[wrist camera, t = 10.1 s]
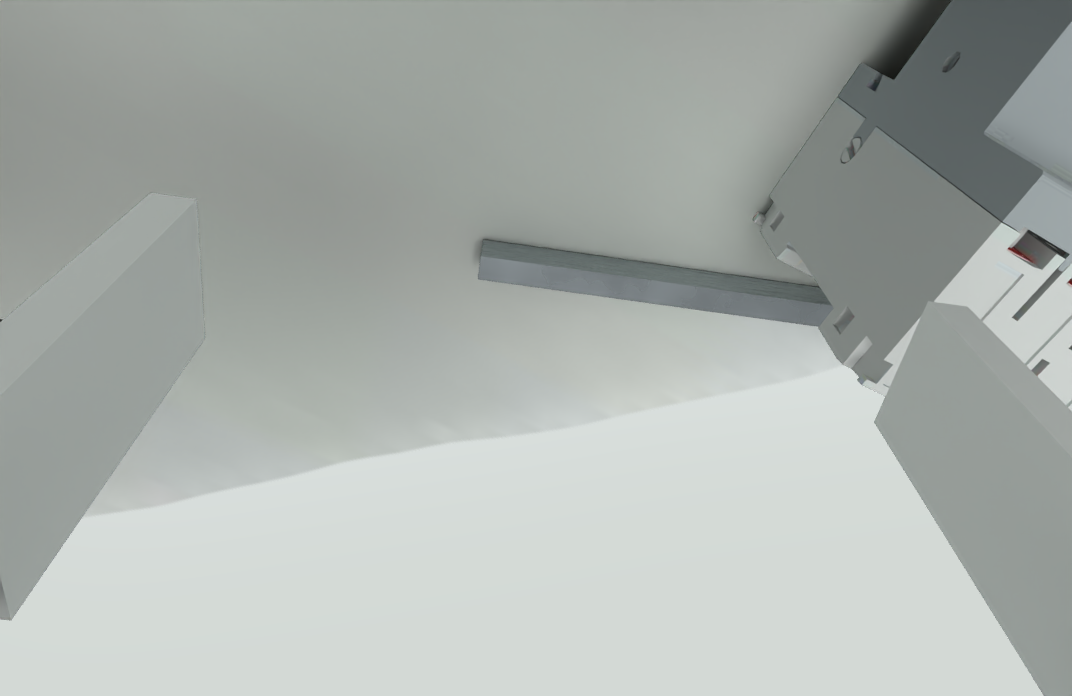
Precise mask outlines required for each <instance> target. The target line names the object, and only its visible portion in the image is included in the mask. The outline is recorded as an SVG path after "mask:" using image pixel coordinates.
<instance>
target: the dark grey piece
mask: <svg viewBox="0 0 1072 696" xmlns="http://www.w3.org/2000/svg"><path fill="white" fill-rule="evenodd" d="M478 279H480V280H487V281H494V282H501V283H509V284H516V285H523V286H530V287H537V288H544V289H552V290H559V291H566V292H573V293H580V294H588V295H595V296H602V297H609V298H616V299H624V300H631V301H638V302H645V303H652V304H660V305H667V306H674V307H681V308H688V309H695V310H703V311H710V312H717V313H724V314H731V315H739V316H746V317H753V318H760V319H767V320H775V321H782V322H789V323H796V324H803V325H811V326H818V327H819V326H820V325H821V324H822V322H823V321H824V320H825V319H826V317H827V316H828V315H829V313H830V312H831V311H832V310H833V308H834V307H833V306H832V304H831V303H830V301H829V300H828V298H827V297H826V295H825V294H824V292H823V291H822V289H821V288H820V287H814V286H807V285H800V284H793V283H786V282H779V281H772V280H765V279H758V278H751V277H744V276H737V275H730V274H722V273H715V272H708V271H701V270H694V269H687V268H680V267H673V266H666V265H659V264H652V263H645V262H638V261H631V260H624V259H617V258H610V257H603V256H596V255H589V254H582V253H575V252H568V251H561V250H554V249H547V248H540V247H533V246H526V245H519V244H512V243H505V242H498V241H491V240H484V239H483V245H482V252H481V258H480V266H479V274H478Z"/></svg>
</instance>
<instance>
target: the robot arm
mask: <svg viewBox="0 0 1072 696" xmlns="http://www.w3.org/2000/svg"><path fill="white" fill-rule="evenodd" d="M204 339H205V324H204V308H203V291H202V274H201V257H200V241H199V224H198V207H197V199H193V198H186V197H179V196H172V195H165V194H157V193H150V194H149V195H147V196H146V197H145V198H144V199H143V200H142V201H140V202H139V203H138V204H137V205H136V206H135V207H133V208H132V209H131V210H130V211H129V212H128V213H126V214H125V215H124V216H123V217H122V218H121V219H119V220H118V221H117V222H116V223H115V224H114V225H113V226H111V227H110V228H109V229H108V230H107V231H106V232H104V233H103V234H102V235H101V236H100V237H99V238H97V239H96V240H95V241H94V242H93V243H92V244H90V245H89V246H88V247H87V248H86V249H85V250H83V251H82V252H81V253H80V254H79V255H78V256H77V257H75V258H74V259H73V260H72V261H71V262H70V263H68V264H67V265H66V266H65V267H64V268H63V269H61V270H60V271H59V272H58V273H57V274H56V275H54V276H53V277H52V278H51V279H50V280H49V281H47V282H46V283H45V284H44V285H43V286H42V287H41V288H39V289H38V290H37V291H36V292H35V293H34V294H32V295H31V296H30V297H29V298H28V299H27V300H25V301H24V302H23V303H22V304H21V305H20V306H18V307H17V308H16V309H15V310H14V311H13V312H11V313H10V314H9V315H8V316H7V317H6V318H4V319H3V320H0V619H2V620H12V618H13V617H14V615H15V614H16V613H17V611H18V610H19V608H20V607H21V605H22V604H23V603H24V601H25V600H26V598H27V596H28V595H29V594H30V592H31V591H32V589H33V588H34V587H35V585H36V584H37V582H38V581H39V579H40V578H41V576H42V575H43V573H44V572H45V571H46V569H47V567H48V566H49V565H50V563H51V562H52V560H53V559H54V557H55V556H56V555H57V553H58V552H59V550H60V549H61V547H62V546H63V544H64V543H65V541H66V540H67V538H68V537H69V536H70V534H71V533H72V531H73V530H74V528H75V527H76V525H77V524H78V522H79V521H80V520H81V518H82V517H83V515H84V514H85V512H86V511H87V509H88V508H89V506H90V505H91V504H92V502H93V501H94V499H95V498H96V496H97V495H98V493H99V492H100V490H101V489H102V488H103V486H104V485H105V483H106V482H107V480H108V479H109V477H110V476H111V474H112V473H113V472H114V470H115V469H116V467H117V466H118V464H119V463H120V461H121V460H122V458H123V457H124V456H125V454H126V453H127V451H128V450H129V448H130V447H131V445H132V444H133V442H134V441H135V440H136V438H137V437H138V435H139V434H140V432H141V431H142V429H143V428H144V426H145V425H146V424H147V422H148V421H149V419H150V418H151V416H152V415H153V413H154V412H155V410H156V409H157V408H158V406H159V405H160V403H161V402H162V400H163V399H164V397H165V396H166V394H167V393H168V392H169V390H170V389H171V387H172V386H173V384H174V383H175V381H176V380H177V378H178V377H179V376H180V374H181V373H182V371H183V370H184V368H185V367H186V365H187V364H188V362H189V361H190V360H191V358H192V357H193V355H194V354H195V352H196V351H197V349H198V348H199V346H200V345H201V344H202V342H203V341H204ZM874 423H875V424H876V426H877V427H878V429H879V431H880V432H881V434H882V436H883V437H884V439H885V440H886V442H887V444H888V445H889V447H890V449H891V450H892V452H893V453H894V455H895V457H896V458H897V460H898V461H899V463H900V465H901V466H902V468H903V470H904V471H905V473H906V474H907V476H908V478H909V479H910V481H911V482H912V484H913V486H914V487H915V489H916V490H917V492H918V493H919V495H920V497H921V499H922V500H923V502H924V503H925V505H926V507H927V508H928V510H929V511H930V513H931V515H932V516H933V518H934V519H935V521H936V523H937V524H938V526H939V527H940V529H941V531H942V532H943V534H944V535H945V537H946V539H947V540H948V542H949V544H950V545H951V547H952V548H953V550H954V552H955V553H956V555H957V556H958V558H959V560H960V561H961V563H962V564H963V566H964V568H965V569H966V571H967V572H968V574H969V576H970V577H971V579H972V580H973V582H974V584H975V586H976V587H977V589H978V590H979V592H980V593H981V595H982V597H983V598H984V600H985V601H986V603H987V605H988V606H989V608H990V610H991V611H992V613H993V614H994V616H995V618H996V619H997V621H998V622H999V624H1000V626H1001V627H1002V629H1003V631H1004V632H1005V634H1006V635H1007V637H1008V639H1009V640H1010V642H1011V644H1012V645H1013V647H1014V648H1015V650H1016V652H1017V653H1018V654H1019V656H1020V658H1021V660H1022V661H1023V663H1024V664H1025V666H1026V667H1027V669H1028V671H1029V672H1030V674H1031V675H1032V677H1033V679H1034V681H1035V682H1036V683H1037V685H1038V687H1039V689H1040V690H1041V692H1042V693H1043V695H1044V696H1072V411H1071V410H1070V409H1069V408H1068V407H1067V406H1066V405H1065V404H1064V403H1063V402H1062V401H1061V400H1060V399H1059V398H1058V397H1057V396H1056V395H1055V394H1054V393H1053V392H1052V391H1051V390H1050V389H1049V388H1048V387H1047V386H1046V385H1045V384H1044V383H1043V382H1042V381H1041V380H1040V379H1039V378H1038V377H1037V376H1036V375H1035V374H1034V373H1033V372H1032V371H1031V370H1030V369H1029V368H1028V367H1027V366H1026V365H1025V364H1024V363H1023V362H1022V361H1021V360H1020V359H1019V358H1018V357H1017V356H1016V355H1015V354H1014V353H1013V352H1012V351H1011V350H1010V349H1009V348H1008V347H1007V346H1006V345H1005V344H1004V343H1003V342H1002V341H1001V340H1000V339H999V338H998V337H997V336H996V335H995V334H994V333H993V332H992V331H991V330H990V329H989V328H988V327H987V326H986V325H985V324H984V323H983V322H982V321H981V320H980V319H979V318H978V317H977V316H976V315H975V314H974V313H973V312H972V311H971V310H970V309H969V308H968V307H967V306H960V305H952V304H945V303H938V302H931V301H928V303H927V305H926V307H925V309H924V312H923V314H922V316H921V318H920V321H919V323H918V325H917V327H916V330H915V332H914V334H913V336H912V338H911V341H910V343H909V345H908V347H907V350H906V352H905V354H904V356H903V359H902V361H901V363H900V365H899V368H898V370H897V372H896V374H895V376H894V379H893V381H892V383H891V385H890V388H889V390H888V392H887V394H886V397H885V399H884V401H883V403H882V406H881V408H880V410H879V412H878V415H877V417H876V419H875V421H874Z"/></svg>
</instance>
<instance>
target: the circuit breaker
mask: <svg viewBox="0 0 1072 696" xmlns="http://www.w3.org/2000/svg"><path fill="white" fill-rule="evenodd" d="M838 97H839V98H838ZM838 97H837V98H836V100H835V101H834V103H833V104H832V105H831V107H830V108H829V110H828V111H827V113H826V114H825V116H824V117H823V118H822V120H821V121H820V123H819V124H818V126H817V127H816V129H815V130H814V131H813V133H812V134H811V136H810V137H809V139H808V140H807V142H806V143H805V144H804V146H803V147H802V149H801V150H800V152H799V153H798V155H797V156H796V157H795V159H794V160H793V162H792V163H791V165H790V166H789V168H788V169H787V170H786V172H785V173H784V175H783V176H782V178H781V179H780V181H779V182H778V183H777V185H776V186H775V188H774V189H773V191H772V192H771V194H770V195H769V196H770V198H771V199H772V201H773V204H772V205H771V207H770V208H769V210H768V211H767V212H766V214H765V215H763V214H761V213H760V212H757V214H756V215H755V217H754V218H753V221H754V222H755V223H757V224H759V225H761V226H762V230H761V231H760V232H761V234H762V235H763V237H764V239H765V240H766V242H767V244H768V245H769V247H770V249H771V250H772V252H773V254H774V255H775V257H776V259H778V260H780V261H782V262H784V263H786V264H788V265H790V266H792V267H794V268H796V269H798V270H800V271H802V272H804V273H805V274H807V275H809V276H811V277H813V278H814V279H815V280H816V282H817V283H818V285H819V286H820V288H821V289H822V291H823V292H824V294H825V295H826V297H827V298H828V300H829V301H830V303H831V304H832V306H833V307H834V308H833V310H832V311H831V312H830V313H829V315H828V316H827V317H826V319H825V320H824V321H823V322H822V324H821V325H820V326H819V327H818V328H819V330H820V332H821V333H822V335H823V337H824V338H825V340H826V342H827V343H828V345H829V346H830V348H831V350H832V351H833V353H834V355H835V356H836V358H837V359H838V360H839V361H840V362H841V363H842V364H843V365H845V366H847V367H849V368H851V369H852V370H853V371H854V372H855V373H856V374H857V375H858V376H859V378H858V379H857V380H858V382H860V384H861V385H863V386H865V387H867V388H869V389H871V390H873V391H875V392H877V393H879V394H881V395H883V396H885V397H886V394H887V392H888V390H889V388H890V385H891V383H892V381H893V379H894V376H895V374H896V372H897V370H898V368H899V365H900V363H901V361H902V359H903V356H904V354H905V352H906V350H907V347H908V345H909V343H910V341H911V338H912V336H913V334H914V332H915V330H916V327H917V325H918V323H919V321H920V318H921V316H922V314H923V312H924V309H925V307H926V305H927V303H928V301H931V302H938V303H945V304H952V305H960V306H967V307H968V308H969V309H970V310H971V311H972V312H973V313H974V314H975V315H976V316H977V317H978V318H979V319H980V320H981V321H982V322H983V323H984V324H985V325H986V326H987V327H988V328H989V329H990V330H991V331H992V332H993V333H994V334H995V335H996V336H997V337H998V338H999V339H1000V340H1001V341H1002V342H1003V343H1004V344H1005V345H1006V346H1007V347H1008V348H1009V349H1010V350H1011V351H1012V352H1013V353H1014V354H1015V355H1016V356H1017V357H1018V358H1019V359H1020V360H1021V361H1022V362H1023V363H1024V364H1025V365H1026V366H1027V367H1028V368H1029V369H1030V370H1031V371H1032V372H1033V373H1034V374H1035V375H1036V376H1037V377H1038V378H1039V379H1040V380H1041V381H1042V382H1043V383H1044V384H1045V385H1046V386H1047V387H1048V388H1049V389H1050V390H1051V391H1052V392H1053V393H1054V394H1055V395H1056V396H1057V397H1058V398H1059V399H1060V400H1061V401H1062V402H1063V403H1064V404H1065V405H1066V406H1067V407H1068V408H1069V409H1070V410H1071V411H1072V0H952V1H951V2H950V3H949V5H948V6H947V8H946V9H945V10H944V12H943V13H942V14H941V16H940V17H939V19H938V20H937V21H936V23H935V24H934V25H933V27H932V28H931V30H930V31H929V32H928V34H927V35H926V36H925V38H924V39H923V41H922V42H921V43H920V45H919V46H918V48H917V49H916V50H915V52H914V53H913V54H912V56H911V57H910V59H909V60H908V61H907V63H906V64H905V65H904V67H903V68H902V70H901V71H900V72H899V74H898V75H897V76H896V78H895V79H894V80H893V79H891V78H889V77H887V76H885V75H883V74H881V73H879V72H878V71H876V70H874V69H873V68H871V67H869V66H867V65H866V64H864V63H861V64H860V65H859V66H858V68H857V69H856V71H855V72H854V74H853V75H852V77H851V78H850V79H849V81H848V82H847V84H846V85H845V87H844V88H843V90H842V91H841V92H840V94H839V95H838ZM840 98H841V99H840Z"/></svg>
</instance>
